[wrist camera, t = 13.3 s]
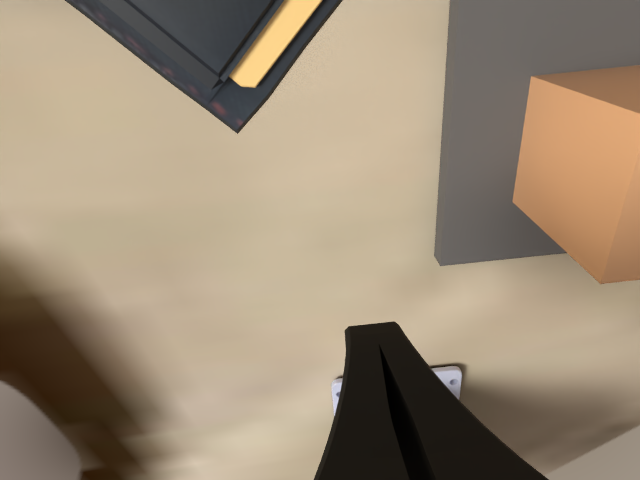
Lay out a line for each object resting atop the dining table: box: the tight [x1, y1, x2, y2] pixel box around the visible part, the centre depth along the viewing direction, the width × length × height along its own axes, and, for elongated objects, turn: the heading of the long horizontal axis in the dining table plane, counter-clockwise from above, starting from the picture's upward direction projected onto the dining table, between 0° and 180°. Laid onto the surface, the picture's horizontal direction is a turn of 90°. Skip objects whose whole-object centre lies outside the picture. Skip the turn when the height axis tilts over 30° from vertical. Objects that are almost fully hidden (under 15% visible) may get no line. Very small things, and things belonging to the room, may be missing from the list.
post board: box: [434, 0, 640, 266], centre depth 17 cm, size 12×12×6 cm
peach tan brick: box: [512, 65, 640, 284], centre depth 16 cm, size 6×6×7 cm
